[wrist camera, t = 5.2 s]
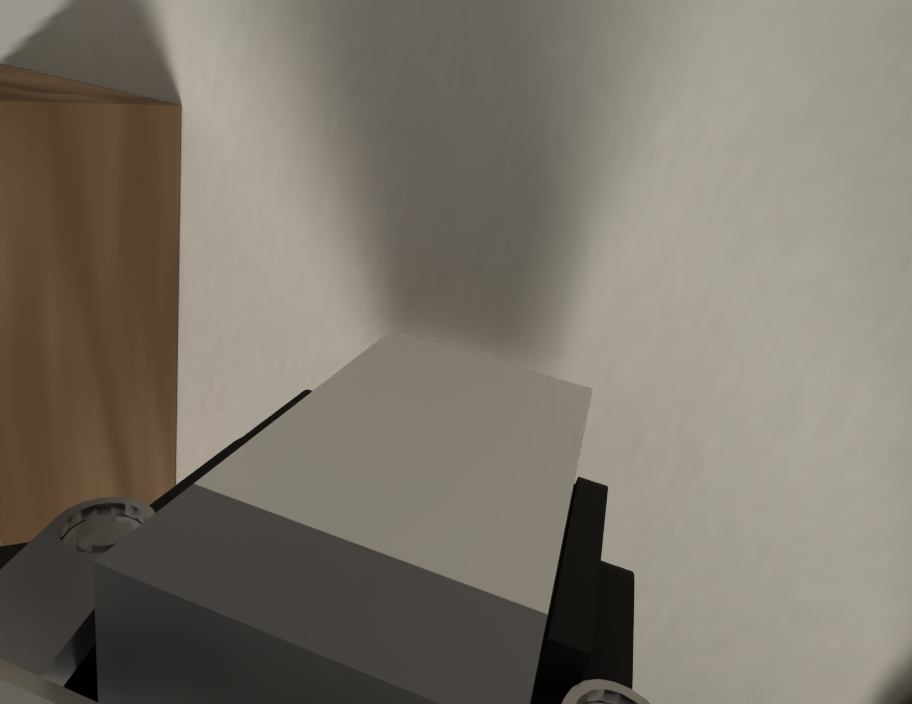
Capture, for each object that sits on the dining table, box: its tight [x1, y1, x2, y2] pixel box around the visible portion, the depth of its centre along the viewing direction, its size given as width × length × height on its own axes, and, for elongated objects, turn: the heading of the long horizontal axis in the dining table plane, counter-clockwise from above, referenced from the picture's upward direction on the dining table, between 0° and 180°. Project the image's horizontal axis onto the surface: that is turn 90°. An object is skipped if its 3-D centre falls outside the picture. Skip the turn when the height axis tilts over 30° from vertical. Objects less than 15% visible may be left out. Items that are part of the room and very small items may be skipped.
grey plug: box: [93, 330, 592, 704], centre depth 10 cm, size 4×4×8 cm
